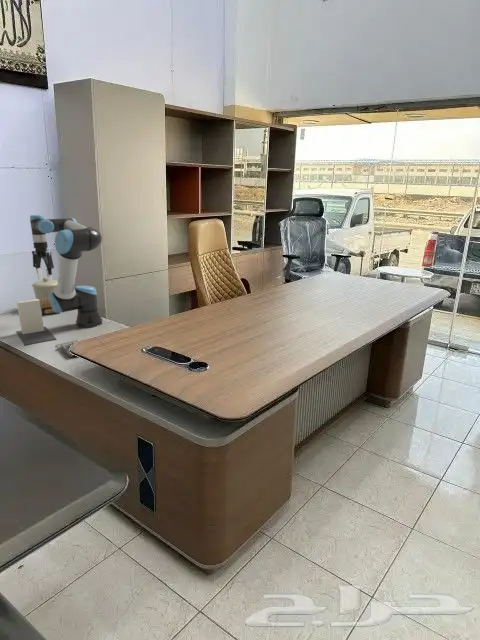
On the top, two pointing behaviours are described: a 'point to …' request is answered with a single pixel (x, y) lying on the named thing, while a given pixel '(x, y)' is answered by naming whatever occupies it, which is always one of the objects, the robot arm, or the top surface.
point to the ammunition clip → (47, 306)
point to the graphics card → (65, 348)
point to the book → (30, 316)
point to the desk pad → (36, 337)
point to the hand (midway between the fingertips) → (45, 279)
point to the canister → (44, 288)
